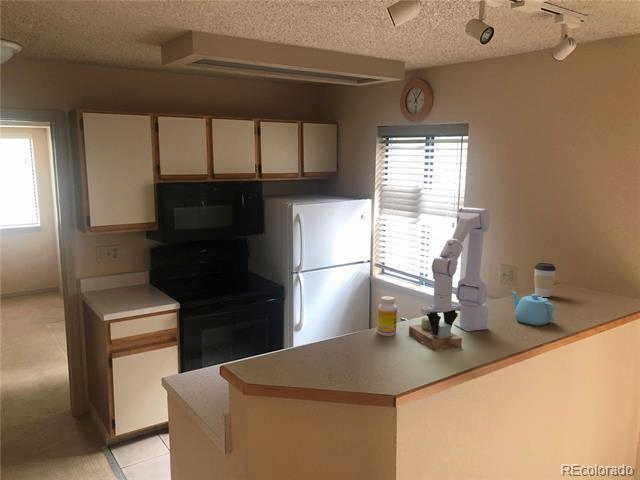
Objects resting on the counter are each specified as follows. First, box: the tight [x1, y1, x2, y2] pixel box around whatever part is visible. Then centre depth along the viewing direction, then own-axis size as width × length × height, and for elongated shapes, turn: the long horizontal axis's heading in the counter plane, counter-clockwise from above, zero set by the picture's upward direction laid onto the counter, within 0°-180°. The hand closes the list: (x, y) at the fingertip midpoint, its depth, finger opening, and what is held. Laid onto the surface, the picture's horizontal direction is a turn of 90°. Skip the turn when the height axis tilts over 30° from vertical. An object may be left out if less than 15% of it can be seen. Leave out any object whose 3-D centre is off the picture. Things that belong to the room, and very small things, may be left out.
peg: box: [433, 321, 452, 339], centre depth 168 cm, size 4×4×7 cm
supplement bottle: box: [376, 295, 398, 337], centre depth 178 cm, size 7×7×13 cm
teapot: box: [510, 290, 555, 326], centre depth 194 cm, size 13×11×18 cm
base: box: [408, 317, 463, 351], centre depth 172 cm, size 10×16×6 cm, turn 20°
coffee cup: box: [533, 262, 557, 298], centre depth 231 cm, size 9×9×15 cm
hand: (441, 333), depth 168 cm, fingers closed on peg, 4 cm apart
